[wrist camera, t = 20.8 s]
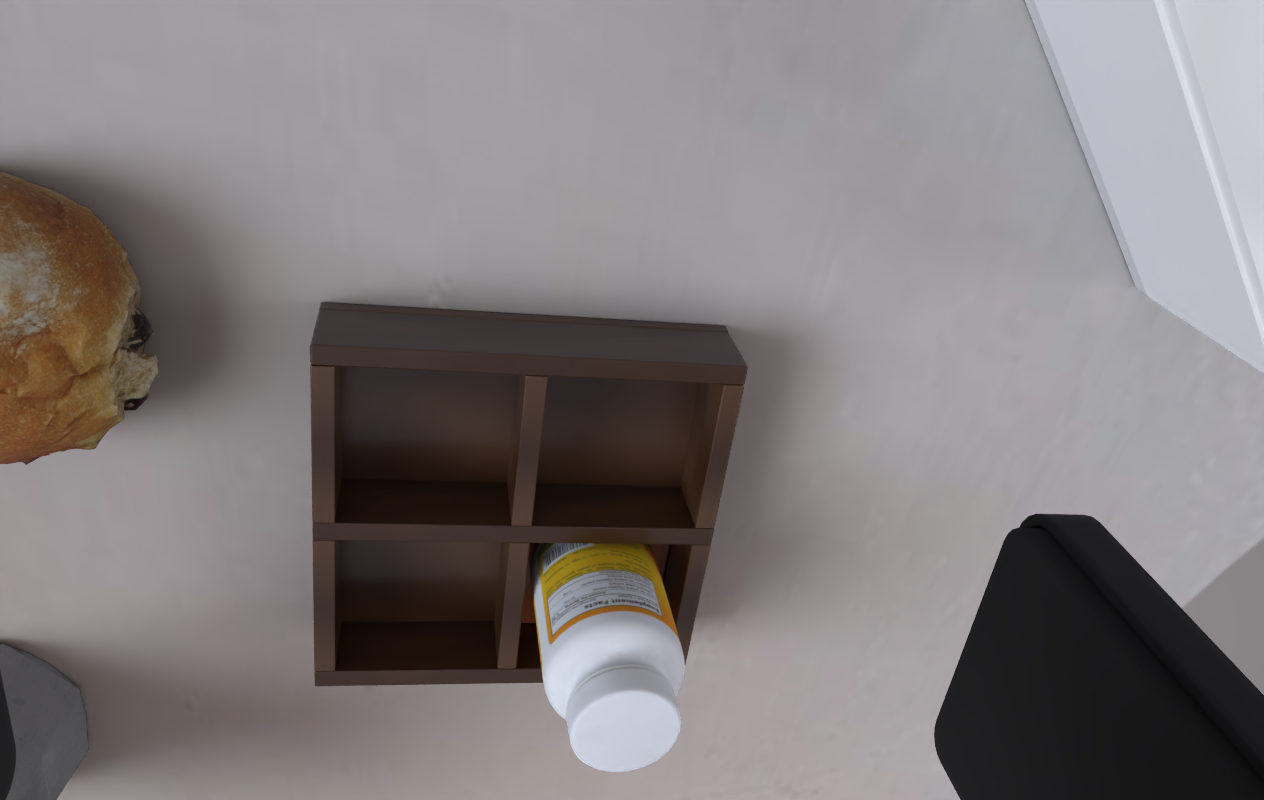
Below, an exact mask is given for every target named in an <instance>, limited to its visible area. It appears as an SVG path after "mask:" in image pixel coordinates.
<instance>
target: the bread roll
mask: <svg viewBox="0 0 1264 800" xmlns="http://www.w3.org/2000/svg"><path fill="white" fill-rule="evenodd" d="M140 294H141V285H140V282H139V280H138V278H137V276H136V274H135V272H134V270H133V268H132V267H131V265H130V263H129V261H128V259H127V251H126V250H124V249H123V248H121V246H120V245H119V243H118V241H117V240H116V239H115V238H114V237H113V236H112V234H111V233H110V232H109V230H108V229H107V228H106V226H105V225H104V224H103V223H102V222H101V220H99V219H98V218H97V217H96V216H95V215H94V213H93V212H92V211H91V210H90V209H88V208H87V207H85V206H82V205H79V204H77V203H75V202H74V201H72V200H71V199H70V198H67V197H65V196H63V195H60V194H59V193H58V192H56V191H55V190H54V189H53V188H45V187H42V186H39V185H36V184H33V183H30V182H28V181H25V180H23V179H21V178H19V177H16V176H13V175H10V174H8V173H5V172H1V171H0V464H10V463H15V462H24V463H25V464H26V465H27V464H28V463H30V462H32V461H34V460H36V459H37V458H39V457H41V456H46V455H49V454H50V453H54V452H58V451H66V450H68V449H87V450H90V449H94V448H96V447H97V445H98V443H99V442H100V440H101V439H102V438H103V436H104V435H105V434H106V433H107V431H108V430H109V429H110V428H112V427H113V426H115V425H116V424H118V423H119V422H120V421H122V420H123V419H124V410H136V409H137V408H138V407H139V406H140V405H141V404H142V403H143V402H144V401H145V400H146V399H147V398H148V394H149V392H150V387H151V383H152V382H153V381H154V379H155V377H156V376H157V375H158V371H159V369H158V367H157V361H158V359H157V357H156V355H155V354H154V355H153V356H152V357H149V356H148V355H146V354H144V353H143V354H142V352H143V349H144V344H145V343H146V342H147V340H148V339H149V337H150V336H151V334H152V333H153V331H152V328H151V326H150V324H149V322H148V320H147V318H146V317H145V316H144V315H143V314H142V313H141V312H140Z"/></svg>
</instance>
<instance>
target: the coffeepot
mask: <svg viewBox="0 0 1264 800" xmlns="http://www.w3.org/2000/svg"><path fill="white" fill-rule="evenodd" d="M0 671H1V676H2V681H3V686H4V691H5V696H6V700H7V705H8V710H9V715H10V720H11V725H12V730H13V735H14V739H15V745H16V766H15V773H14V777H13V781H12V785H11V788H10V791H9V793H8V796H7V798H6V800H57V798H58V796H59V795H60V793H61V792H62V790H63V789H64V787H65V785H66V784H67V782H68V781H69V779H70V778H71V776H72V774H73V773H74V771H75V770H76V768H77V767H78V765H79V764H80V762H81V760H82V759H83V757H84V756H85V754H86V753H87V751H88V749H89V745H88V737H87V725H86V711H85V708H84V705H83V702H82V699H81V695H80V689H79V688H78V687H77V686H75V685H74V684H73V683H72V682H71V681H70V680H68V679H67V678H66V677H65V676H64V675H63V674H61V673H60V672H59V671H57V670H56V669H55V668H53V667H52V666H50V665H49V664H48V663H46V662H44V661H43V660H41V659H39V658H37V657H35V656H33V655H31V654H29V653H26V652H24V651H21V650H18V649H15V648H12V647H9V646H7V645H5V644H0Z"/></svg>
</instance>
